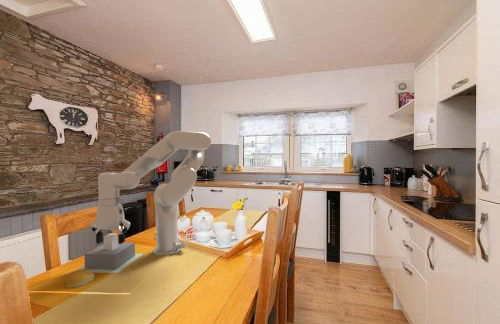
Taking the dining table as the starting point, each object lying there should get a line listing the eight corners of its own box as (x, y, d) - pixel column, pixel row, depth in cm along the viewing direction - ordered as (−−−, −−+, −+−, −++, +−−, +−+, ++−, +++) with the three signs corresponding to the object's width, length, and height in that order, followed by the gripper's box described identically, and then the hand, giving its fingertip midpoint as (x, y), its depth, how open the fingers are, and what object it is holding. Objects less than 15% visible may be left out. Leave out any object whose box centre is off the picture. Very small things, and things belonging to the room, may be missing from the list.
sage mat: (143, 254, 107) (143, 253, 107) (118, 274, 89) (118, 272, 89) (106, 254, 109) (106, 253, 109) (73, 273, 91) (73, 272, 91)
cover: (135, 255, 105) (134, 230, 105) (116, 269, 92) (115, 240, 92) (107, 255, 106) (106, 230, 106) (84, 269, 93) (83, 240, 93)
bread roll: (67, 292, 78) (67, 280, 78) (65, 282, 85) (65, 271, 85) (97, 283, 84) (96, 271, 83) (93, 274, 90) (92, 263, 90)
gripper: (134, 200, 102) (135, 239, 102) (96, 200, 103) (97, 239, 103) (123, 203, 94) (124, 246, 94) (83, 204, 96) (84, 246, 96)
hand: (110, 242), depth 99 cm, fingers open, 9 cm apart
